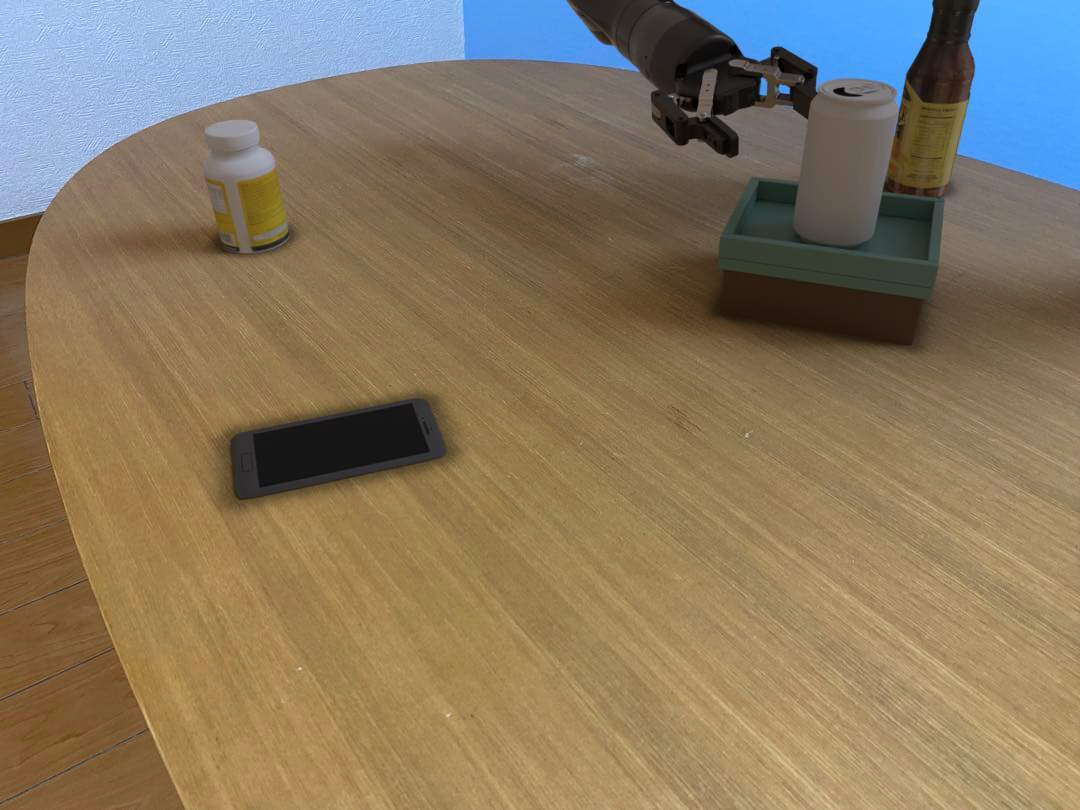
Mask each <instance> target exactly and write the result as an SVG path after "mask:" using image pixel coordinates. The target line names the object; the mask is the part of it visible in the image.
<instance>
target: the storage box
mask: <svg viewBox="0 0 1080 810" xmlns="http://www.w3.org/2000/svg"><path fill="white" fill-rule="evenodd" d="M798 185H799V181H795V180H787V179H777V178H769V177H761V176H751V177H750V179H749V181H748V183H747V185H746V186H745V189H744V190H743V192H742V195H741V196H740V198H739V200H738V202H737V203H736V206H735V208H734V210H733V212H732V214H731V215H730V217H729V219H728V221H727V222H726V225H725V227H724V229H723V230H722V233H721V235H720V236H719V244H718V245H719V246H718V256H717V266H716V268H717V269H718V270H723V279H722V289H721V299H720V308H719V315H722V316H728V317H735V318H741V319H747V320H753V321H758V322H765V323H772V324H777V325H784V326H790V327H797V328H802V329H807V330H814V331H819V332H826V333H832V334H840V335H845V336H850V337H858V338H864V339H869V340H870V339H871V340H876V341H881V342H886V343H887V342H888V343H894V344H899V345H900V344H901V345H907V346H913V344H914V343H913V342H914V339H915V334H916V330H917V326H918V322H919V319H920V313H921V309H922V306H923V301H924V300H927V301H931V300H932V296H933V292H934V287H935V285H936V280H937V277H938V276H937V275H938V272H939V269H940V258H941V246H942V237H943V224H944V215H945V213H944V212H945V202H946V199H945V198H940V197H938V198H933V197H925V196H916V195H907V194H899V193H891V192H889V191H882V196H881V201H880V206H879V211H878V216H877V221H876V226H875V231H874V234H873V236H872V237H871V238H870V239H869V240H868V241H866V242H864V243H861V244H860V245H859V246H857V247H854V248H850V249H838V248H830V247H823V246H816V245H810V244H808V243H806V242H804V241H803V240H802V239H801V237H800V235H798V234H797V233H796V232H795V230H794V228H793V219H794V212H795V205H796V198H797V191H798Z"/></svg>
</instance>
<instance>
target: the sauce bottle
mask: <svg viewBox="0 0 1080 810" xmlns="http://www.w3.org/2000/svg"><path fill="white" fill-rule="evenodd" d="M980 2H981V0H932V3H931V4H932V5H931V6H932V13H931V18H930V23H929V26H928V31H927V33H926V37H925V40H924V41H923V43H922V45H921V47H920V49H919V51H918V53H917V55H916V56H915V58H914V59H913V61H912V63H911V64H910V66H909V68H908V70H907V71H906V73H905V78H904V85H903V89H902V93H901V99H900V104H899V112H898V117H897V122H896V127H895V132H894V137H893V142H892V147H891V152H890V157H889V162H888V167H887V172H886V175H887V176H888V177H887V180H886V181H887V182H886V183H887V188H888V191H890V193H899V194H907V195H916V196H925V197H933V198H940V197H942V196H944V195H945V194H946V193H947V191H948V186H949V182H950V179H951V178H952V175H953V170H954V166H955V163H956V159H957V154H958V151H959V150H958V149H959V146H960V141H961V137H962V133H963V128H964V125H965V124H964V123H965V119H966V116H967V111H968V107H969V103H970V99H971V89H972V85H973V80H974V77H975V74H976V73H975V72H976V63H975V62H976V61H975V58H974V56H973V53H972V50H971V48H970V45H969V41H970V39H971V37H972V33H971V31H972V28H973V23H974V19H975V14H976V13H977V11H978V9H979V5H980Z"/></svg>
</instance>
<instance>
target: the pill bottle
mask: <svg viewBox="0 0 1080 810" xmlns="http://www.w3.org/2000/svg"><path fill="white" fill-rule="evenodd" d="M204 137H205V142H206V145H207V147H208V148H209V149H210V150H211V153H210V154H209V155H207V157H206V158H205V160H204V162H203V167H202V170H203V176H204V180H205V183H206V187H207V191H208V195H209V199H210V202H211V207H212V211H213V215H214V218H215V223H216V227H217V231H218V234H219V235H218V236H219V239H220V242H221V246H222V248H224V249H225V250H227V251H229V252H233V253H237V254H254V253H255V254H256V253H262V252H266V251H271V250H273V249H276V248H278V247H281V245H283V244H285V243H286V242H287V241H288V240H289V238H290V230H289V224H288V220H287V214H286V209H285V205H284V199H283V195H282V190H281V185H280V179H279V175H278V170H277V165H276V161H275V158H274V156H273V154H272V153H271V152H270V151H269V150H268V149H266V148H264V147H261V146H260V145H259V142H260V141H261V135H260V131H259V127H258V124H257V123H256V122H255V121H253V120H248V119H230V120H224V121H223V120H222V121H219V122H215V123H213V124H210V125H208V126H207V127H206V128H205V129H204Z"/></svg>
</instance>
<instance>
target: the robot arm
mask: <svg viewBox="0 0 1080 810" xmlns="http://www.w3.org/2000/svg"><path fill="white" fill-rule="evenodd" d="M565 1H566V2H567V4H568V6H569V7H570V8H571V9H572V11H573V12H574V13H575V14H576V15H577V17H578V18H579V19H580V20H581V22H582V23H583V24H584V25H585V26H586V28H587V30H588V31H589V32H590V34H592V36H593V37H594V38H595V39H596V40H597V41H598V42H599V43H601V44H603V45H604V46H611V47H613V46H614V48H615V49H616V51H618V53H619V54H620V55H622V57H624V58H625V59H626V60H627V61H628V62H630V64H632V65H633V66H634V67H635V68H636V69H637V70H638V71H639V73H640V74H641V75H642V76H643V77H644V79H646V81H648V82H649V83H650V84H651V85H652V86H653V87H655V88H656V90H653V91H651V92H650V108H651V109H650V110H651V120H652V121H653V122H654V123H655V124H656V125H657V126H658V127H659V128H660V129H661V130H662V132H664V134H665V135H666V136H667V137H668V138H669V139H670V140H671V141H672V143H674V144H675V145H676V146H678V147H684V146H686V145H688V144H689V143H690V141H691V140H696V141H697V142H698V143H705V144H706V145H707V146H708V147H710V148H711V149H712V150H713V151H714V152H715V153H717V154H719V155H722V156H726V157H727V158H728V159H732V158H735V157H737V156H739V154H740V153H739V152H740V151H739V150H740V149H739V148H740V138H739V134H738V133H737V132H736V131H735V130H734V129H733V128H732V127H730V126H729V125H727V124H726V122H724V121H723V120H722V119H721V118H719V117H718V116H723V117H726V116H727V117H728V116H729V115H730V116H731V115H732V114H734V113H736V112H737V111H739V110H743V109H747V108H750V107H758V108H763V109H764V108H765V109H774V107H775V106H776V105H777V106H786V107H792V110H793V111H796V113H797V114H799V115H800V116H802V117H803V118H804V119H806V120H807V121H808V117H809V110H810V103H811V101H812V100H813V99H814V97H815V96H816V95H817V94H818V90H817V80H818V73H819V68H818V67H817V66H815V65H814V64H812V63H810V62H809V61H808V60H805V59H804V58H802V57H800V56H799V55H797V54H795V53H793V52H791V51H790V50H788V49H786V48H785V47H783V46H781V45H780V46H774V47H771V49H770V56H768V57H767V58H764V59H762V60H758V59H755V58H752V57H751V58H750V57H747V56H745V55H744V54H743V53H742V50H741V49H740V47H739V45H738V44H737V43H736V41H735V40H734V39H733V38H732V37H730V36H729V35H728V34H726V33H725V32H723V31H722V30H721V29H719V28H718V27H716V25H713V24H712V23H710V22H709V21H708V20H706V19H705V18H704V17H702V16H701V15H699V14H698V13H696V12H695V11H693V10H691V9H689V8H687V7H684V6H682V5H680V4H678V3H677V2H676V1H675V0H565ZM762 79H764V80H765V81H766V94H761V87H762V86H761V84H762ZM780 86H786V87H787V88H789V92H788V93H784V92H781V91H780ZM686 112H688V113H695V116H692V117H689V115H688V114H687V113H686Z"/></svg>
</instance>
